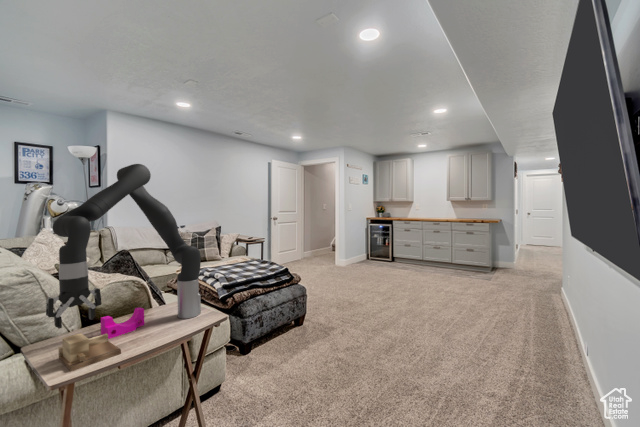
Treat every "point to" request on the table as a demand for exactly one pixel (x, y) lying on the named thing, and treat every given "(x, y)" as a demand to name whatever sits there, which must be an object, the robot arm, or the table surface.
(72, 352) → the beige rectangular block
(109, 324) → the toy block
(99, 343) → the board
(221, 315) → the table surface
